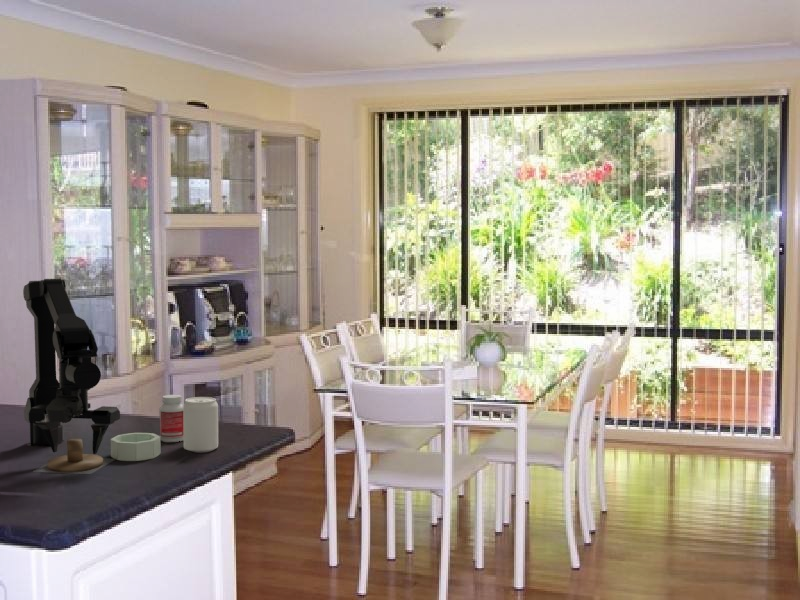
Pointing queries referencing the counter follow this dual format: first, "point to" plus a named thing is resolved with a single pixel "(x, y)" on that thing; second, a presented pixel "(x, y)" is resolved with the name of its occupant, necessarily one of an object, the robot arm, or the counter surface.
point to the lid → (74, 459)
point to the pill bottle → (171, 419)
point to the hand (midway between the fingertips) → (74, 452)
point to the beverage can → (200, 424)
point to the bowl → (135, 446)
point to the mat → (45, 469)
